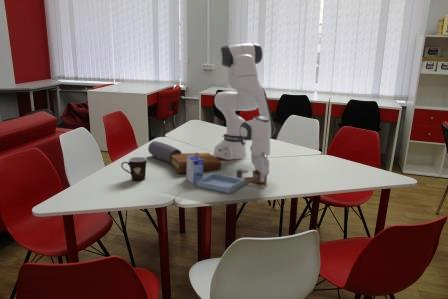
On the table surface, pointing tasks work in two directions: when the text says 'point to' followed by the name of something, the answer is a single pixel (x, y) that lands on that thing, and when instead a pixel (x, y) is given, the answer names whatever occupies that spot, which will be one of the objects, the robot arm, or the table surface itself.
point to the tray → (220, 183)
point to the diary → (208, 160)
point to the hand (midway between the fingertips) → (259, 178)
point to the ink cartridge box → (194, 168)
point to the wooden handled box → (239, 175)
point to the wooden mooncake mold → (255, 177)
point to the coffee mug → (137, 168)
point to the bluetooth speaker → (162, 151)
